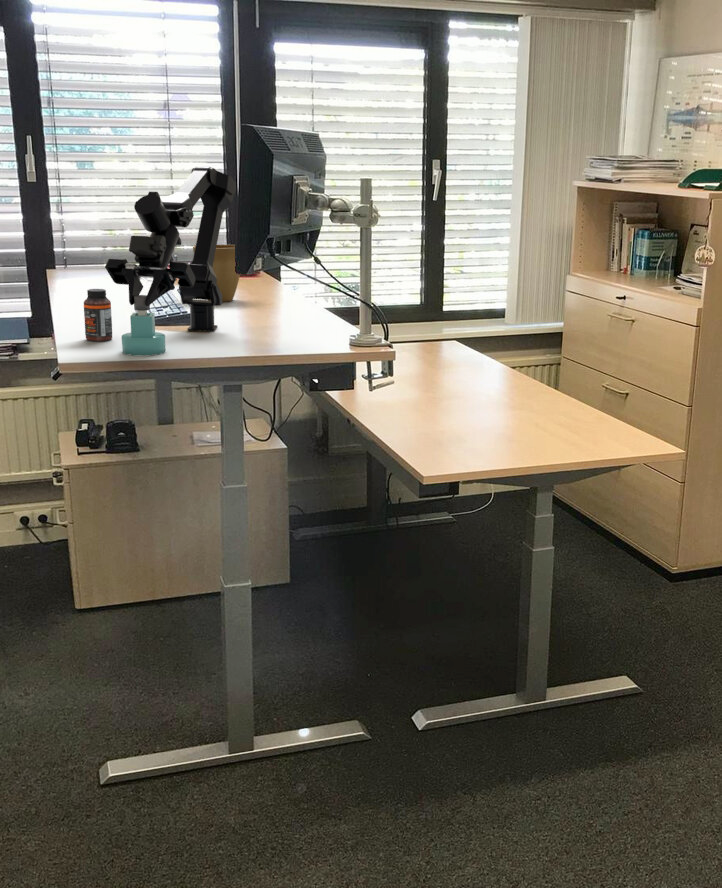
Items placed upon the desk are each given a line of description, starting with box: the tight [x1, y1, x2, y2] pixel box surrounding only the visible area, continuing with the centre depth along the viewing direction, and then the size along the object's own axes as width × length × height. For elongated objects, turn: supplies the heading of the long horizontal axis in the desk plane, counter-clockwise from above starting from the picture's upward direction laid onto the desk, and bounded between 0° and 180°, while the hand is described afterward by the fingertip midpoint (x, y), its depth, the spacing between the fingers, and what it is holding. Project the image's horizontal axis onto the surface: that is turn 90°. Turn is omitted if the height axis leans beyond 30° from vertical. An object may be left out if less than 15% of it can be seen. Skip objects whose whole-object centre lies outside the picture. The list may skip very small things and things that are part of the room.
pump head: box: [133, 294, 151, 316], centre depth 195 cm, size 3×3×8 cm
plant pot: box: [192, 244, 241, 303], centre depth 273 cm, size 15×15×16 cm
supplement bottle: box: [83, 288, 113, 342], centre depth 208 cm, size 6×6×11 cm
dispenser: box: [121, 312, 166, 356], centre depth 196 cm, size 9×9×8 cm
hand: (138, 304), depth 193 cm, fingers closed on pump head, 3 cm apart
